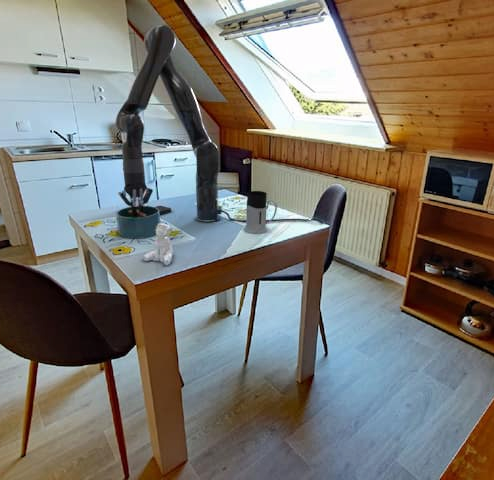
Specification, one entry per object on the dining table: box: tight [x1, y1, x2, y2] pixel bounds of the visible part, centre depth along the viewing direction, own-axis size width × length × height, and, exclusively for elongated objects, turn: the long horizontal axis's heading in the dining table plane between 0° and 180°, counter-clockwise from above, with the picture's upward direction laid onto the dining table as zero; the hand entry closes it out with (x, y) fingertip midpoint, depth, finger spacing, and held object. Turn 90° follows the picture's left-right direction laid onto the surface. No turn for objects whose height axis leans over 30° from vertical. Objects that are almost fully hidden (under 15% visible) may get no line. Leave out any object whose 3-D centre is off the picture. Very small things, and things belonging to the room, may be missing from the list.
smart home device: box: [154, 205, 172, 216], centre depth 156 cm, size 8×2×20 cm
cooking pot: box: [115, 205, 161, 239], centre depth 135 cm, size 16×16×8 cm
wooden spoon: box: [128, 210, 147, 217], centre depth 134 cm, size 13×4×2 cm, turn 36°
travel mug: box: [244, 190, 278, 234], centre depth 135 cm, size 9×14×15 cm, turn 44°
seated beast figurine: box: [143, 222, 174, 266], centre depth 111 cm, size 10×9×12 cm
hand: (138, 214), depth 134 cm, fingers closed on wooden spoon
